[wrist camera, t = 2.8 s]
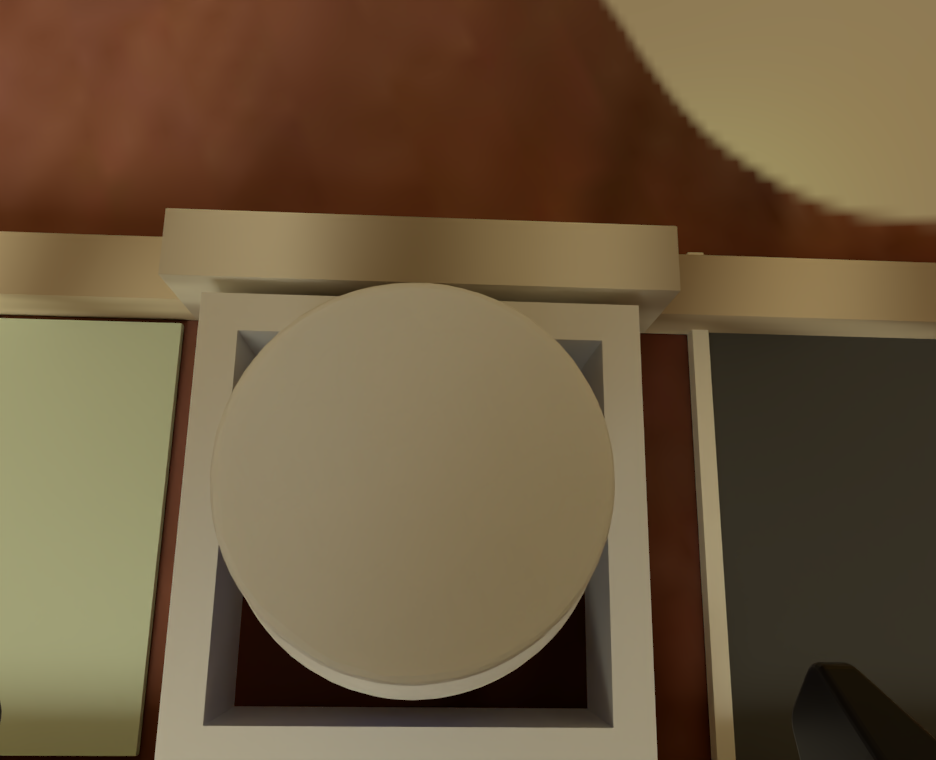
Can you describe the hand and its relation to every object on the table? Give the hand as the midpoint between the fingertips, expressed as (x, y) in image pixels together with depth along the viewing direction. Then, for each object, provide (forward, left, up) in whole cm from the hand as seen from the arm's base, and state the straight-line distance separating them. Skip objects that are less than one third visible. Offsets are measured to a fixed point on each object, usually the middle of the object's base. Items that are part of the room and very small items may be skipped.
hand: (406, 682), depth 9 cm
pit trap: (-8, -7, -10) cm, 14 cm away
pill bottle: (+1, -2, -10) cm, 10 cm away
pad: (+10, +3, -10) cm, 14 cm away
